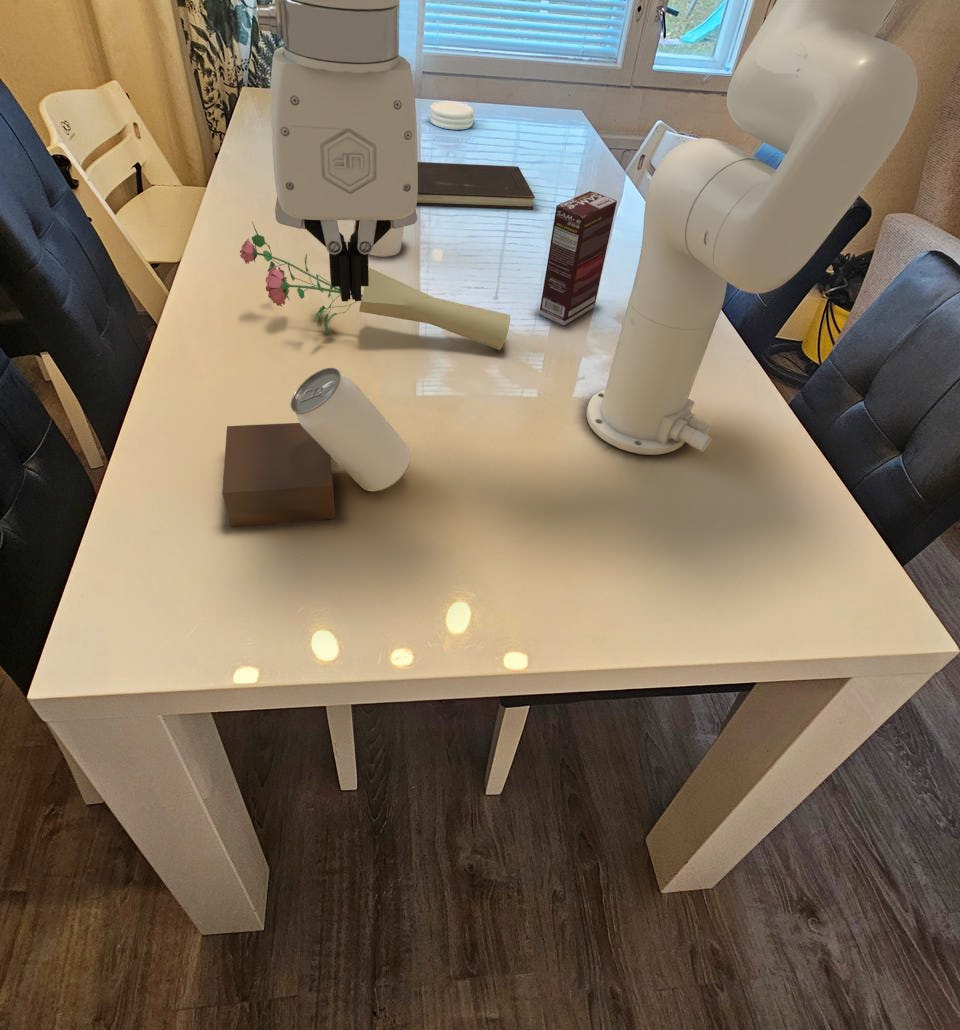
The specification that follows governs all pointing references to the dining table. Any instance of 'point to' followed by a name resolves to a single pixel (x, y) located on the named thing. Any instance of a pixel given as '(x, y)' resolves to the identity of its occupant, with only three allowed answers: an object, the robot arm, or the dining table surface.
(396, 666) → the dining table surface
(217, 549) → the dining table surface
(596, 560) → the dining table surface
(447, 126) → the white stacked discs
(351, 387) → the can
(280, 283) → the flower vase
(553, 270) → the supplement box
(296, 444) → the walnut block
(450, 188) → the hardcover book
